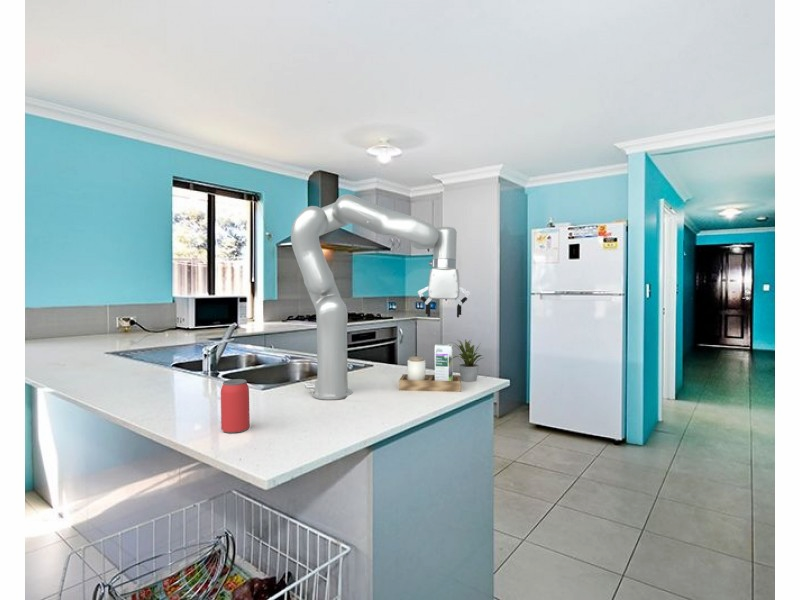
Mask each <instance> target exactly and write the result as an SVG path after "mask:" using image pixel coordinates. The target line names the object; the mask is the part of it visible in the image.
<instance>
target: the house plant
mask: <svg viewBox="0 0 800 600" xmlns="http://www.w3.org/2000/svg"><path fill="white" fill-rule="evenodd" d="M457 341H458V342H459V343H460V345H458V344H457V343H456V342H455V343H454V342H451V341H450V344H453V347H455V348H457V350H458V351H459V354H458V355H453V359H455V358H457V359H458V360H460V362H461V364H458V367H459V368H458V369H459V375H461V382H464V383H474V382H477V380H478V374H479V366H480V365H479V364H477V363H478V361H480V360H481V359H483V357H481V356H483V355H482V354H480V353H479V352H478V350H479V349H478V348H479V347H480V345H481V343H479V345H478V346H477V347H476V349H475V345H474V344H473V345H471V343H472V342H471V341H472V340H468V341H467V339H464V344H463V342H462V341H461V340H459V339H457ZM454 344H455V345H454ZM477 354H478V355H477ZM459 355H460V356H459ZM458 357H460V358H461V359H462V360H463V361H462V360H461V359H460V358H458ZM479 357H481V358H479ZM463 362H464V363H463Z"/></svg>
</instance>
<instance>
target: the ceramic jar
mask: <svg viewBox="0 0 800 600" xmlns="http://www.w3.org/2000/svg"><path fill="white" fill-rule="evenodd" d="M407 374H408V380H425V375H426V359H424V356H417V355H415V356H409V357H408V360H407Z"/></svg>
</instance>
